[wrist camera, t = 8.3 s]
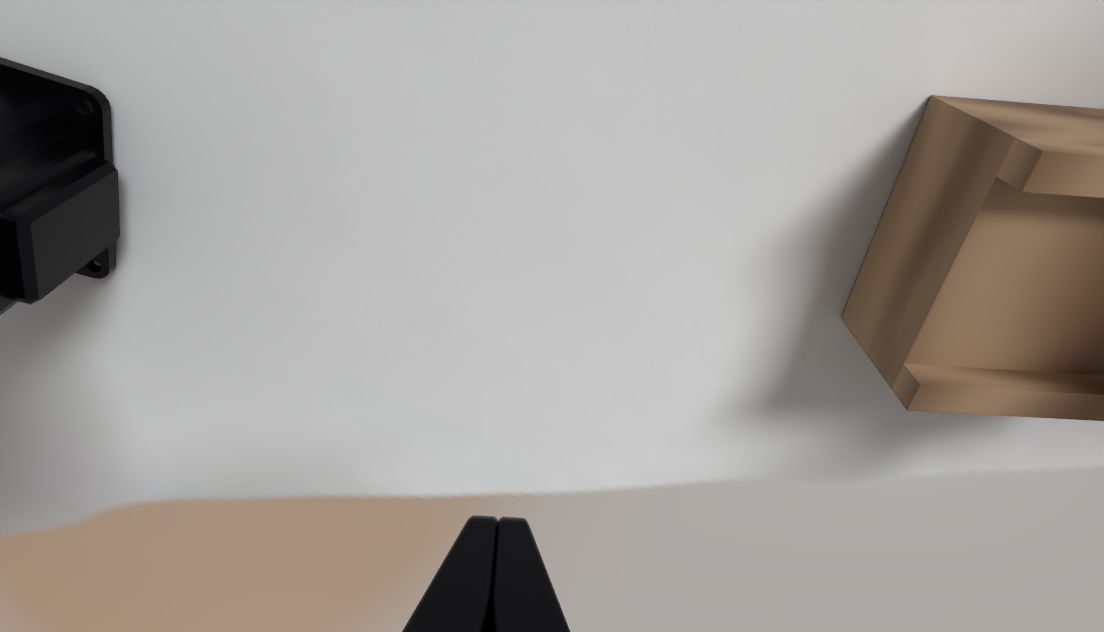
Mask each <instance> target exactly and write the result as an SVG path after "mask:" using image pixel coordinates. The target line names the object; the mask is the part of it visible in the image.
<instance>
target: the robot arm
mask: <svg viewBox="0 0 1104 632" xmlns="http://www.w3.org/2000/svg"><path fill="white" fill-rule="evenodd" d="M83 98H84V99H86V100H88V101H89V102H90V103H91V104H92V107H93V111H91V110H89V109H87V107H86V106H85V105H84V103H83ZM119 236H120V226H119V194H118V171H117V169H116V167H115V165H114V164H113V162H112V133H111V108H110V104H109V101H108V100H107V98H106V97H105V95H104V94H103V93H102V92H100V91H99V90H98V89H96V88H94V87H92V86H89V85H86V84H83V83H80V82H76V81H73V80H70V79H67V78H64V77H61V76H57V75H54V74H51V73H48V72H45V71H42V70H39V69H35V68H32V67H29V66H26V65H23V64H20V63H16V62H13V61H10V60H7V59H4V58H1V57H0V315H1V314H3V313H4V312H5V311H6V310H8V309H9V308H10V307H12V306H13V305H14V304H16V303H17V302H18V301H19V302H23V303H27V304H32V303H35V302H37V301H38V300H40V299H42V298H43V297H45V296H46V295H47V294H48V293H50V292H51V291H52V290H54V289H55V288H56V287H57V286H59V285H60V284H61V283H62V282H64V281H65V280H66V279H68V278H69V277H70V276H71V275H73V274H74V273H77V274H81V275H84V276H88V277H92V278H99V279H100V278H104V277H106V276H107V275H108V274H109V273H111V272H112V271H113V270H114V269H115V267H116V247H115V241H116V240H117V239H118V238H119ZM93 260H96V261H97V262H98V263H99V264H100V265H101V266H99V265H97V264H95V263H94V262H93ZM402 632H570V630H569V627H568V625H567V622H566V619H565V617H564V614H563V612H562V609H561V607H560V604H559V602H558V599H557V596H556V594H555V591H554V589H553V586H552V583H551V581H550V578H549V576H548V573H547V570H546V568H545V565H544V563H543V560H542V557H541V555H540V552H539V550H538V547H537V544H536V542H535V539H534V537H533V534H532V532H531V529H530V526H529V524H528V522H527V521H526V520H525V519H524V518H515V517H514V518H513V517H502V518H500V519H499V521H498V520H497V518H495V517H493V516H472V517H470V518H469V519H468V520H467V522H466V524H465V525H464V527H463V529H462V530H461V532H460V534H459V536H458V537H457V539H456V541H455V542H454V544H453V546H452V547H451V549H450V551H449V553H448V554H447V556H446V558H445V559H444V561H443V563H442V565H441V566H440V568H439V570H438V571H437V573H436V575H435V577H434V578H433V580H432V582H431V584H430V585H429V587H428V589H427V590H426V592H425V594H424V595H423V597H422V599H421V601H420V602H419V604H418V606H417V607H416V609H415V611H414V613H413V614H412V616H411V618H410V619H409V621H408V623H407V624H406V626H405V628H404V629H403V631H402Z"/></svg>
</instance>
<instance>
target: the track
mask: <svg viewBox="0 0 1104 632" xmlns="http://www.w3.org/2000/svg"><path fill="white" fill-rule="evenodd" d="M841 319H842V320H843V322H844V323H845V325H846V326H847V327H848V329H849V330H850V332H851V333H852V334H853V336H854V337H855V339H856V340H857V341H858V343H859V344H860V346H861V347H862V348H863V350H864V351H865V353H866V354H867V355H868V357H869V358H870V360H871V361H872V362H873V364H874V365H875V367H876V368H877V369H878V371H879V372H880V373H881V375H882V376H883V378H884V379H885V380H886V382H887V383H888V385H889V386H890V387H891V389H892V390H893V392H894V393H895V394H896V396H897V397H898V399H899V400H900V401H901V403H902V404H903V406H904V407H905V408H906V410H910V411H929V412H947V413H966V414H985V415H1003V416H1022V417H1041V418H1059V419H1078V420H1097V421H1104V109H1093V108H1081V107H1069V106H1056V105H1044V104H1032V103H1019V102H1007V101H995V100H983V99H970V98H958V97H946V96H933V95H931V96H930V99H929V101H928V104H927V106H926V109H925V111H924V114H923V116H922V119H921V121H920V124H919V126H918V128H917V131H916V133H915V136H914V138H913V141H912V143H911V146H910V148H909V151H908V153H907V156H906V158H905V161H904V163H903V166H902V168H901V171H900V173H899V175H898V178H897V180H896V183H895V185H894V188H893V190H892V193H891V195H890V198H889V200H888V203H887V205H886V208H885V210H884V213H883V215H882V218H881V220H880V223H879V225H878V227H877V230H876V232H875V235H874V237H873V240H872V242H871V245H870V247H869V250H868V252H867V255H866V257H865V260H864V262H863V265H862V267H861V270H860V272H859V274H858V277H857V279H856V282H855V284H854V287H853V289H852V292H851V294H850V297H849V299H848V302H847V304H846V307H845V309H844V312H843V314H842V317H841Z"/></svg>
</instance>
